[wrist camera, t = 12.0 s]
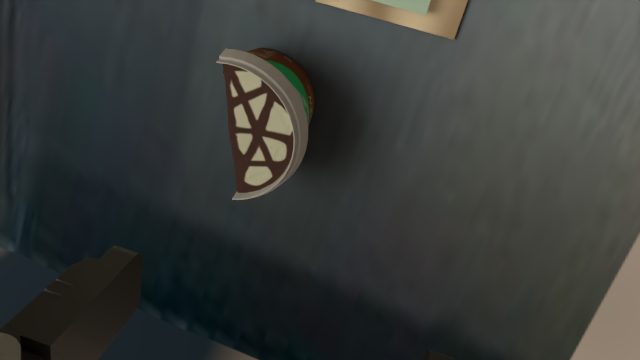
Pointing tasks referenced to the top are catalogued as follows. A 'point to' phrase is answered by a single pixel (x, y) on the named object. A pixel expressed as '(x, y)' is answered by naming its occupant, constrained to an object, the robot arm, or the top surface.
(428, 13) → the cork mat
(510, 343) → the top surface
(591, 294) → the top surface
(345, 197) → the top surface
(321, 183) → the top surface
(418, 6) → the lid piece
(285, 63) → the food container
